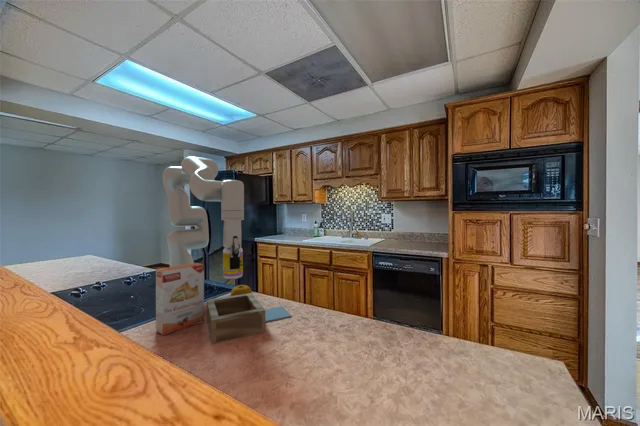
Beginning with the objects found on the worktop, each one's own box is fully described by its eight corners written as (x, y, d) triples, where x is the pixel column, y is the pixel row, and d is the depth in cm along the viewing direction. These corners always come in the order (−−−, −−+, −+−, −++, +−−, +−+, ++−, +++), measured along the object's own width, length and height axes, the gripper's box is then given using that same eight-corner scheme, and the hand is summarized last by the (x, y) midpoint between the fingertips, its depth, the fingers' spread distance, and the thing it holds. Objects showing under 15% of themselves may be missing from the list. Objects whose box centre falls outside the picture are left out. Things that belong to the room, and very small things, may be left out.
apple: (231, 304, 111) (230, 283, 111) (251, 301, 113) (251, 281, 113) (230, 311, 103) (230, 289, 103) (252, 308, 105) (252, 287, 105)
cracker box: (163, 336, 83) (162, 271, 82) (155, 331, 86) (154, 268, 86) (205, 321, 94) (204, 263, 93) (196, 317, 97) (196, 261, 97)
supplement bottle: (239, 279, 87) (239, 241, 87) (219, 279, 87) (219, 241, 87) (245, 274, 94) (245, 239, 94) (227, 274, 94) (227, 239, 94)
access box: (206, 318, 96) (206, 299, 96) (251, 310, 103) (251, 293, 103) (211, 343, 78) (211, 320, 78) (265, 331, 85) (265, 310, 85)
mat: (255, 312, 101) (255, 311, 101) (282, 307, 106) (282, 306, 106) (262, 323, 92) (262, 321, 92) (291, 316, 97) (291, 315, 97)
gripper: (218, 215, 96) (218, 263, 97) (224, 216, 81) (225, 273, 81) (239, 215, 100) (239, 261, 100) (249, 216, 84) (249, 270, 85)
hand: (233, 266), depth 91 cm, fingers closed on supplement bottle, 6 cm apart
